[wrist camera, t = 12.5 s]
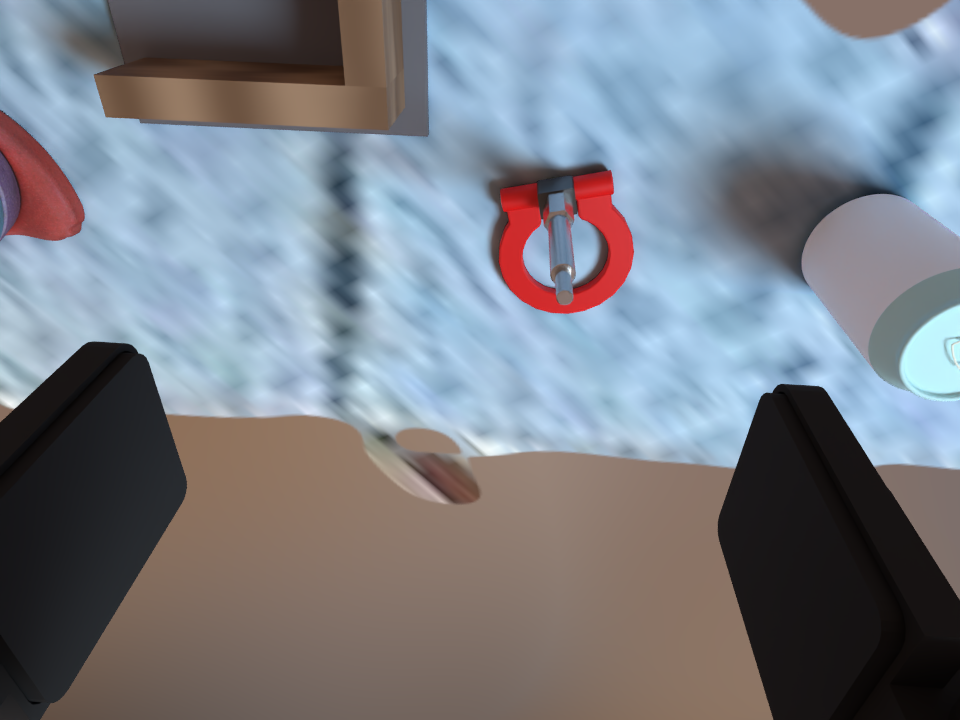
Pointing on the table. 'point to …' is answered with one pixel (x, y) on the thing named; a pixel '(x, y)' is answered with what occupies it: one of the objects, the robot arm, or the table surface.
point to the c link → (275, 82)
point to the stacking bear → (34, 189)
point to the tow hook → (564, 240)
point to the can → (892, 290)
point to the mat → (267, 44)
